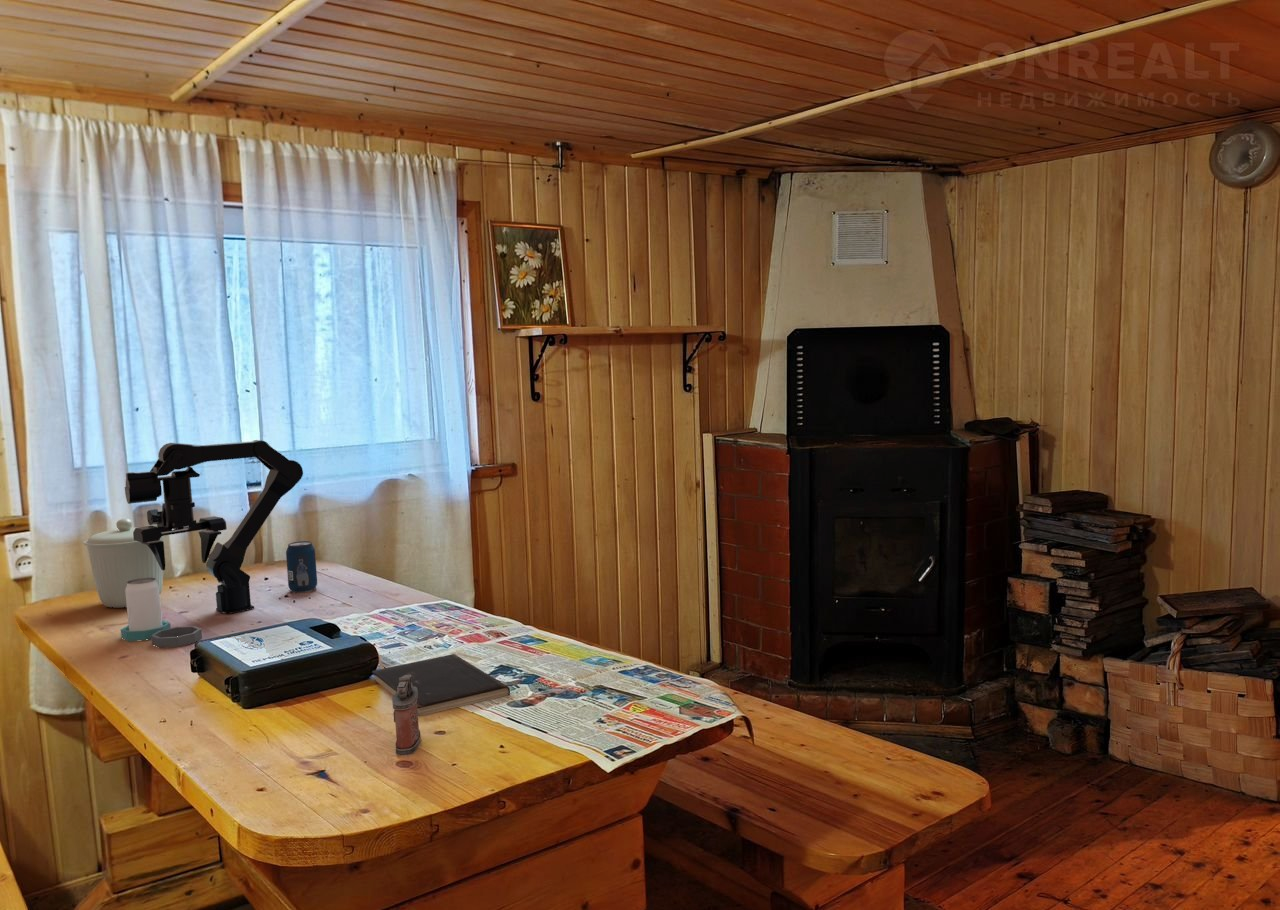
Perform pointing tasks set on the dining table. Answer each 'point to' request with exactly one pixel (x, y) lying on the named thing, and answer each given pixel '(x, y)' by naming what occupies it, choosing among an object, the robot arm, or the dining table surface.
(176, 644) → the socket
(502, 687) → the hardcover book
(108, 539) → the canister
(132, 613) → the can
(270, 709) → the dining table surface
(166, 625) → the socket
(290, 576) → the soda can
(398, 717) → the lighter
